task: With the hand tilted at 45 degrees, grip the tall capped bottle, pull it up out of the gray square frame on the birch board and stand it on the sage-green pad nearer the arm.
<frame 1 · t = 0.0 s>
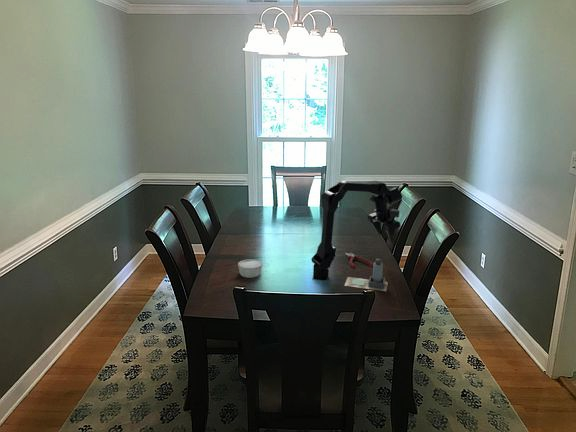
hand: (385, 237, 219), 15 cm above the table, tool pointing down, fingers open, 9 cm apart
gray square frame: (376, 282, 201), on the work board
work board: (366, 284, 203), on the table
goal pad: (358, 282, 204), resting on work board
ramekin: (250, 274, 213), on the table
capped bottle: (377, 272, 200), in the gray square frame, touching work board
pliers: (358, 263, 230), on the table
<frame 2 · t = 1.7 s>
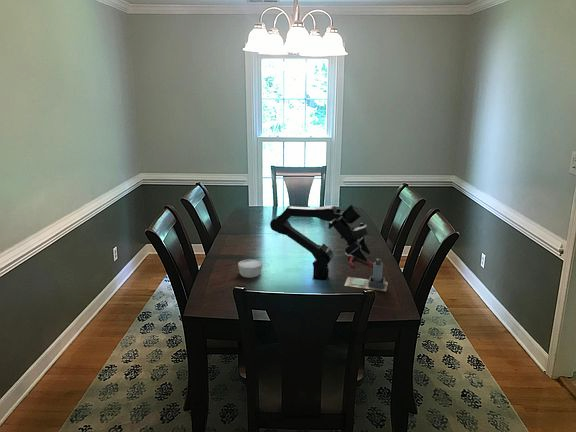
hand: (368, 257, 200), 13 cm above the table, tool tilted 45°, fingers open, 9 cm apart
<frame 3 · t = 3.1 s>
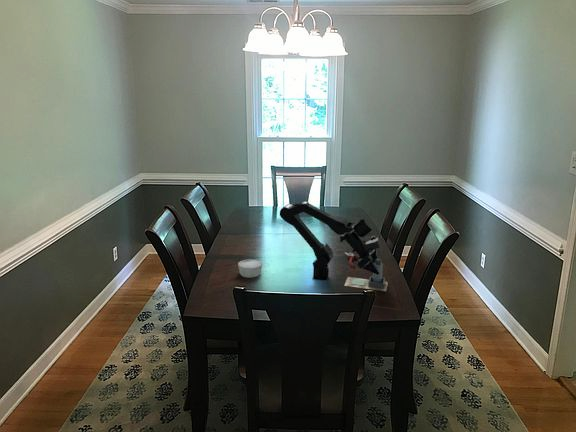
hand: (380, 270, 200), 8 cm above the table, tool tilted 45°, fingers open, 9 cm apart
nothing on the table moved.
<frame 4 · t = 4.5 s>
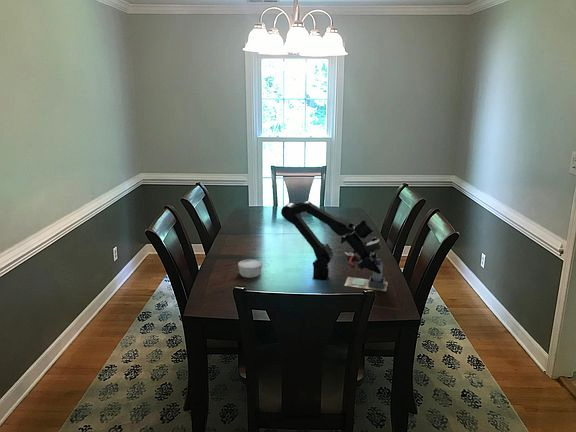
hand: (380, 271, 200), 7 cm above the table, tool tilted 45°, fingers closed on capped bottle, 4 cm apart
capped bottle: (377, 272, 200), in the gray square frame, touching gripper, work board
everything else where it was.
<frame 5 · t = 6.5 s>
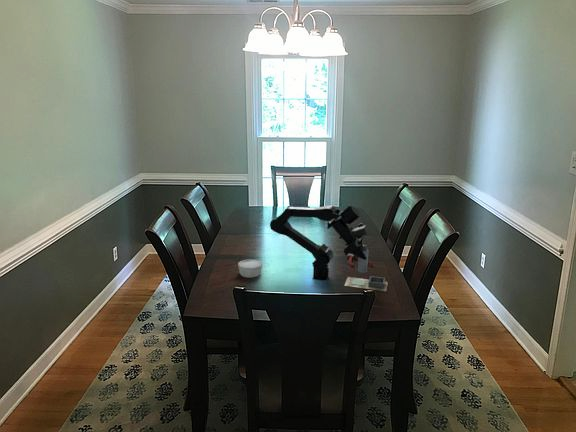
hand: (366, 257, 200), 13 cm above the table, tool tilted 45°, fingers closed on capped bottle, 4 cm apart
capped bottle: (363, 258, 200), point 12 cm above the table, touching gripper
when the fingers open (8 cm above the table, at t = 8.5 s): capped bottle stays where it is, resting on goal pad.
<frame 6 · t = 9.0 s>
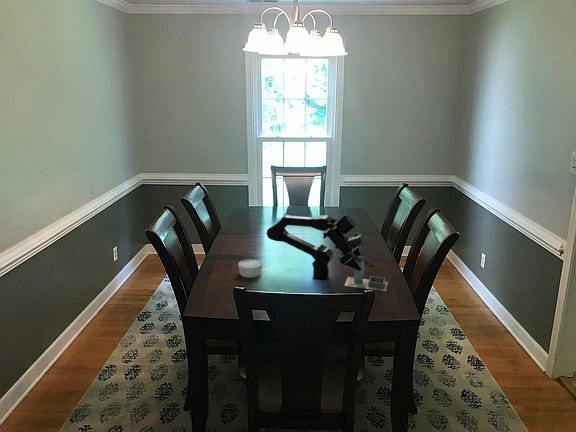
hand: (362, 266, 201), 8 cm above the table, tool tilted 45°, fingers open, 9 cm apart
capped bottle: (359, 269, 202), point 7 cm above the table, touching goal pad
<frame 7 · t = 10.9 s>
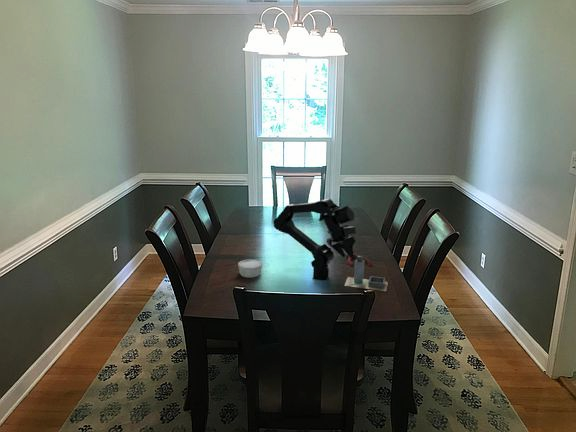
hand: (348, 257, 203), 11 cm above the table, tool tilted 25°, fingers open, 9 cm apart
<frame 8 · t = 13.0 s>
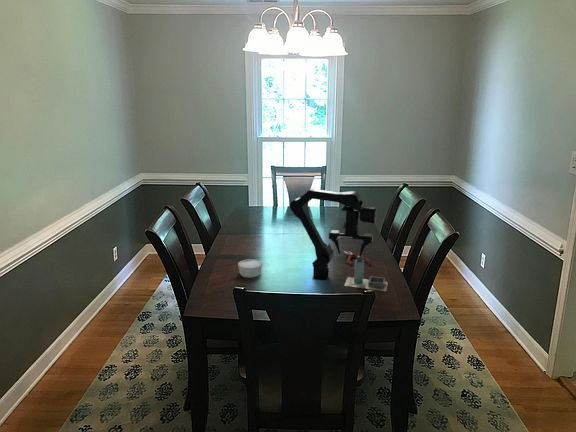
hand: (350, 255, 202), 13 cm above the table, tool pointing down, fingers open, 9 cm apart
at the end: capped bottle 0.1 cm off-centre on the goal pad, point 6.3 cm above the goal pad's base; capped bottle tilted 0°; the gripper is holding nothing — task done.
